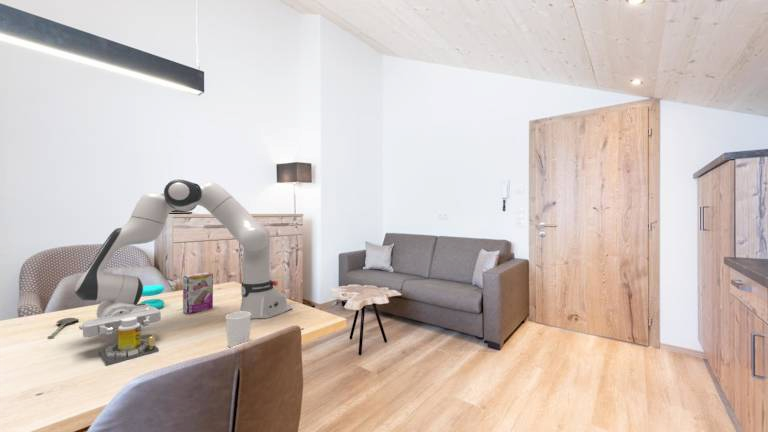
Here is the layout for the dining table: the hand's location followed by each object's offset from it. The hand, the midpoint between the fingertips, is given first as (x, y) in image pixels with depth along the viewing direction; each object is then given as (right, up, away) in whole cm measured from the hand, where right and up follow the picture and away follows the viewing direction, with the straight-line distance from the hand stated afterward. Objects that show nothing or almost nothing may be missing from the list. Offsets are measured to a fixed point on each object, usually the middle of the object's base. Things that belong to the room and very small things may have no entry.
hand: (128, 327), depth 103 cm
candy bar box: (-3, -8, +44) cm, 44 cm away
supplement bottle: (0, -8, 0) cm, 8 cm away
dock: (0, -8, +1) cm, 8 cm away
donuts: (-26, -7, +47) cm, 54 cm away
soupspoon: (-42, -8, +21) cm, 48 cm away
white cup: (+32, -8, +7) cm, 34 cm away
